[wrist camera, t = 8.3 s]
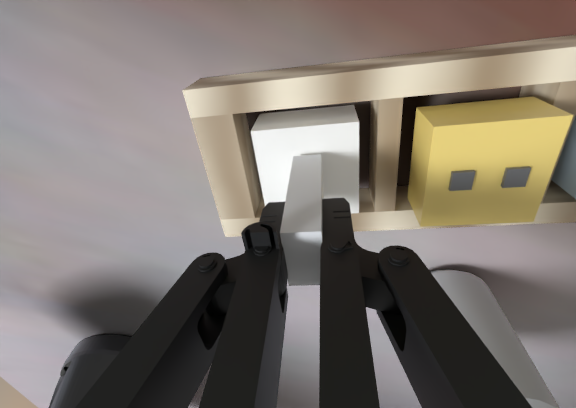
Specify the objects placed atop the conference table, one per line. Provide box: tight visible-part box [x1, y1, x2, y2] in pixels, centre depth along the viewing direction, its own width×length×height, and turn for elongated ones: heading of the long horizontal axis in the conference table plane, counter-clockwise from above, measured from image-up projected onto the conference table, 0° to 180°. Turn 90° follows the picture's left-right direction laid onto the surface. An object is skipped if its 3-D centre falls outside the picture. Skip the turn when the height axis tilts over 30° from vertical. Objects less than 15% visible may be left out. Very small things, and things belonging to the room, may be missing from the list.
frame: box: [182, 35, 576, 237], centre depth 18 cm, size 30×10×3 cm, turn 97°
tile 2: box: [407, 97, 573, 227], centre depth 16 cm, size 6×6×3 cm
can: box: [431, 270, 559, 408], centre depth 22 cm, size 8×8×12 cm
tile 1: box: [251, 105, 359, 214], centre depth 19 cm, size 6×6×3 cm
